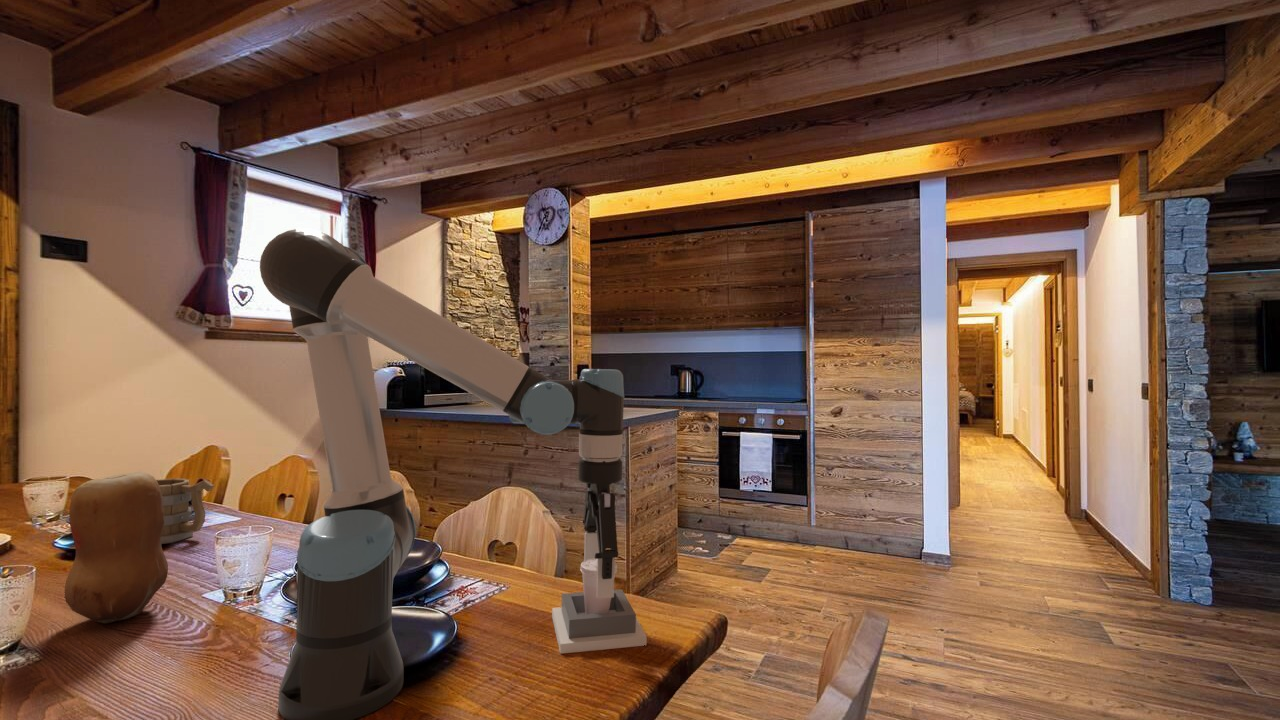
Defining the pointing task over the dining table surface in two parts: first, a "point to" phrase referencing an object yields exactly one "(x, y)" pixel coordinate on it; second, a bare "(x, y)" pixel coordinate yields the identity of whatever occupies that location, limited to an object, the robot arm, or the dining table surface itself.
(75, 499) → the butternut squash
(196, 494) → the tankard
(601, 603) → the smoothie
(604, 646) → the holder
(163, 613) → the dining table surface
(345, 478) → the robot arm
